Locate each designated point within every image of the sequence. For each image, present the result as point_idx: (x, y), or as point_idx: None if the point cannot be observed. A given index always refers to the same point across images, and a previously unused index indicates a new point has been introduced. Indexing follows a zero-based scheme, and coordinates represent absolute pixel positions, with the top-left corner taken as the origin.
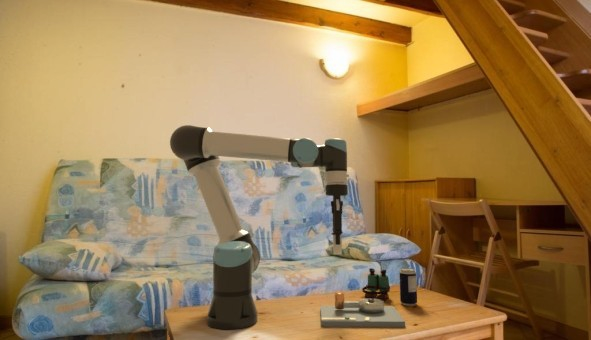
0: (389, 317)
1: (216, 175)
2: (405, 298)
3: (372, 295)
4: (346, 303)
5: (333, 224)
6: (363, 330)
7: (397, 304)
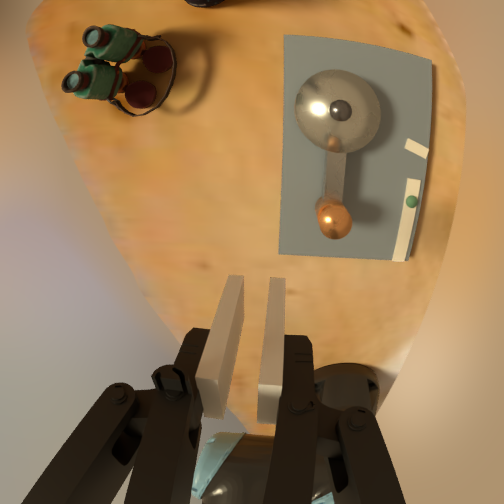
0: (402, 82)
1: None
2: None
3: (144, 84)
4: (342, 193)
5: (190, 488)
6: (441, 167)
7: (210, 17)
